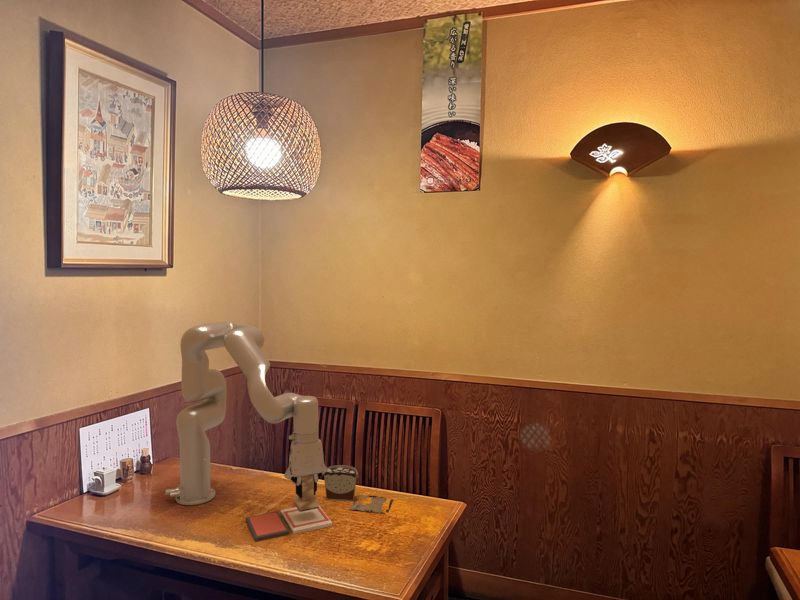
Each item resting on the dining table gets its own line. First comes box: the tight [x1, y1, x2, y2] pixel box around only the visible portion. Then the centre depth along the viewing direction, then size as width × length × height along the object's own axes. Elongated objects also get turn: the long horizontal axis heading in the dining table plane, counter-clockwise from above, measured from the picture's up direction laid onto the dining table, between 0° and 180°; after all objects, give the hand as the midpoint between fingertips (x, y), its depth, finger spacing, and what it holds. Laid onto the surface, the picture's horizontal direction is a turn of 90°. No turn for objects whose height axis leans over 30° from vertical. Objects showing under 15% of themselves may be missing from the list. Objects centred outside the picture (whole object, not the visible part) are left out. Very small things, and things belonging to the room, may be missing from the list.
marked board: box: [280, 505, 333, 535], centre depth 167 cm, size 12×15×1 cm
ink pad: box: [245, 510, 291, 543], centre depth 162 cm, size 10×14×1 cm
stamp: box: [293, 475, 320, 512], centre depth 167 cm, size 6×6×11 cm
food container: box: [321, 464, 359, 502], centre depth 184 cm, size 12×6×10 cm, turn 84°
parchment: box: [350, 494, 393, 515], centre depth 179 cm, size 12×13×1 cm
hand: (306, 494), depth 167 cm, fingers closed on stamp, 3 cm apart
